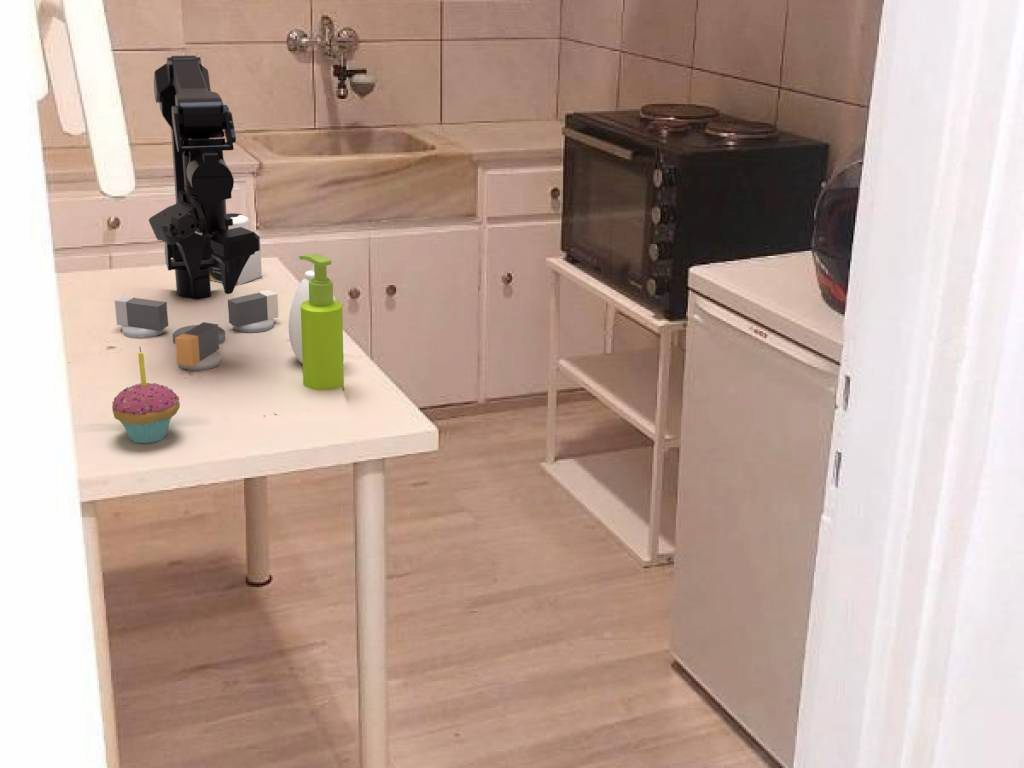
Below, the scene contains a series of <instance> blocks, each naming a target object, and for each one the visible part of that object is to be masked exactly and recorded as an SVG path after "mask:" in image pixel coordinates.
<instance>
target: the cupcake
mask: <svg viewBox="0 0 1024 768" xmlns="http://www.w3.org/2000/svg"><path fill="white" fill-rule="evenodd" d="M138 348H139V349H138V350H139V352H138V353H137V354H138V355H137V356H138V363H139V364H138V365H139V375H140V383H138V384H137V383H136V384H134V385H131V386H129V387H126V388H124V389H122V391H120V392H118V394H117V395H116V396H115V397H114V398H113V400H112V402H111V403H112V408H111V409H112V414H113V417H114V419H115V420H117V421H119V422H120V423H121V425H122V426H123V427H124V429H125V431H126V434H127V436H128V437H129V440H130V441H132V442H134V443H138V444H151V443H156V442H157V443H158V442H159V441H163V440H164V438H166V436H167V433H168V429H169V425H170V422H171V419H172V417H174V416H175V415H177V413H178V411H179V409H180V407H181V403H180V396H179V395H177V393H176V392H174V391H173V390H174V389H172V388H169V387H168V386H167V385H166V386H164V385H163V384H159V383H150V382H147V377H146V375H147V374H146V367H145V366H146V365H145V357H144V352H143V351H142V346H141V345H139V347H138Z"/></svg>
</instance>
